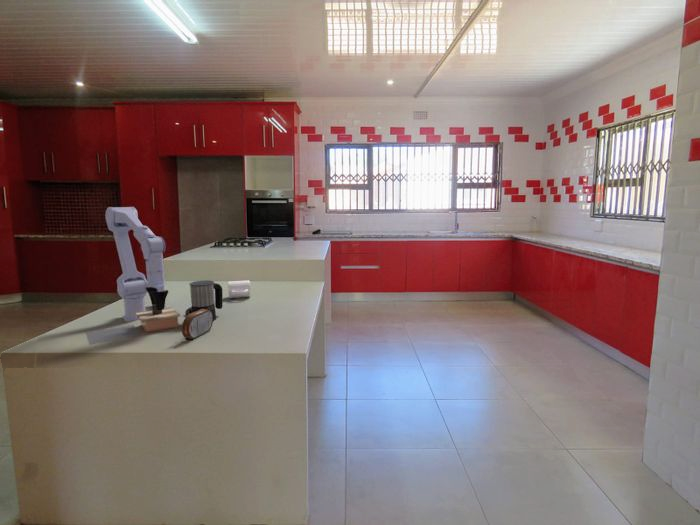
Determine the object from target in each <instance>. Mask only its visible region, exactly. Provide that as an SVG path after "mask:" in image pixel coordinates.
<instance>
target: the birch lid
mask: <svg viewBox="0 0 700 525" xmlns="http://www.w3.org/2000/svg"><path fill="white" fill-rule="evenodd" d="M135 315H136V316H137V317H138V318H139V319H140V323H141V322H142V323H143V322H149V321H155V320H161V319H167V318H173V317H178V318H180V317H181V314H180V313H179V312H178V311H176V310H175V309H174V308H172V307H166V308H164V310H157V308H156V304H154V305H152V306H151V310H145V311H143V312H137V313H135Z"/></svg>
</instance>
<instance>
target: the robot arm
mask: <svg viewBox="0 0 700 525" xmlns="http://www.w3.org/2000/svg"><path fill="white" fill-rule="evenodd" d="M138 215H139V214H138V210H137V209H136V208H135V207H134V206H126V207H125V206H122V207H121V206H120V207H119V206H116V207H115V206H114V207H113V206H108V207H107V209H106V210H105V215H104V216H105V222H106V225H107V228H108V231H111V232H112V233H113V237H114V241H115V245H116V250H117V253H118V258H119V262H120V266H121V271H122V274H121V275H120V276H119V277H117V279H116V285H117V287H116V288H117V289H116V291H117V294H118V295H119V296H120V298H122V299H123V307H124V315H122V317H121V318H123V319H124V321H125V322H127V323H128V322H132V321H138V320H140V319H139V318H138V317H137V316H136V315H135V313H137V312H143V311H146V301H145V296H146V295H147V294H148V296H149V299H150V303H151V302H152V305H154V304H156V308H157V310H164V306H166V299H167V296H168V294H169V290H165V286H166V281H165V279H166V278H165V269H164V268H165V266H164V256H163V255H164V253H165V251H166V241H165V240H164V238H163V237H162V236H156V235H155V233H153V231H152V230H151V229H150V228H149V227H148V225H143V224H142V222H141V221H140V219H139V216H138ZM131 230H132V231H133V236H134V238H135V239H136V240H137V241H138V243H139V244H140V249H141V251H142V254H143V259H144V260H145V267H146V268H145V271H146V275H145V274H144V273H142V272H140V271H138V270H137V265H136V261H135V256H134V253H133V249H132V243H131V241H130V237H129V231H131Z"/></svg>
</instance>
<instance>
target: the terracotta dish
mask: <svg viewBox="0 0 700 525" xmlns="http://www.w3.org/2000/svg"><path fill="white" fill-rule="evenodd" d="M178 318H179V317H173V318H167V319H161V320H155V321H149V322H143V323H142V322H141V321H140V326H141V328H143V330H144V331H145V332H146V333H151V332H155V331H157V332H158V331H163V330H169V329H173V328H178V327H179V319H178Z"/></svg>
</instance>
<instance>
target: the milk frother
mask: <svg viewBox="0 0 700 525" xmlns="http://www.w3.org/2000/svg"><path fill="white" fill-rule="evenodd" d="M188 285H189V287H190V288H189V289H190V290H189V291H190V301H191V307H189V308H187V309H186V310H185V311H184V312H185V313H184V314H185V316H187V315H189V314H191V313H193V312H196V311H198V310H201V309H206V310H210V311H211V312H212V313H213V321H215V320H216V319H218V318H217V315H216V314H217V313H216V309H218V310H220V309H223V299H224V298H223V287H222V286H221V285H220V284H219V283H217V282H216V283H215V281H214V280H196V281H193V282H190V283H189V284H188Z"/></svg>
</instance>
